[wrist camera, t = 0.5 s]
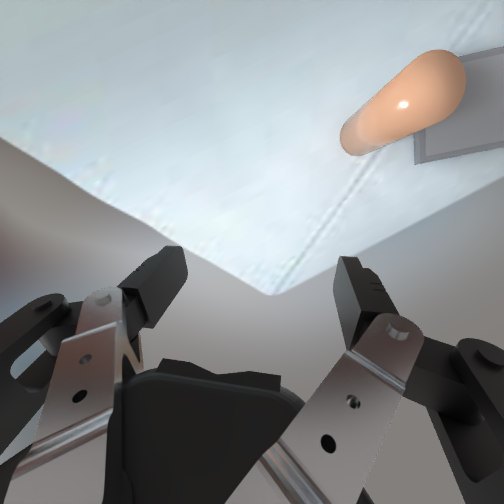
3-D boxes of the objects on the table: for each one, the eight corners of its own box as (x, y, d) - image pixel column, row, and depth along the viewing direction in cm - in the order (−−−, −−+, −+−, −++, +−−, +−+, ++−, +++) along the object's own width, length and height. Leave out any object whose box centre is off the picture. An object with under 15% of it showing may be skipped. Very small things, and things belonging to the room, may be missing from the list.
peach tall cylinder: (337, 118, 30) (396, 58, 18) (377, 109, 30) (466, 42, 17) (341, 159, 31) (399, 131, 19) (380, 151, 31) (465, 117, 18)
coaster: (412, 70, 29) (418, 65, 28) (507, 49, 28) (517, 42, 27) (414, 164, 31) (420, 163, 30) (501, 147, 31) (510, 145, 30)
